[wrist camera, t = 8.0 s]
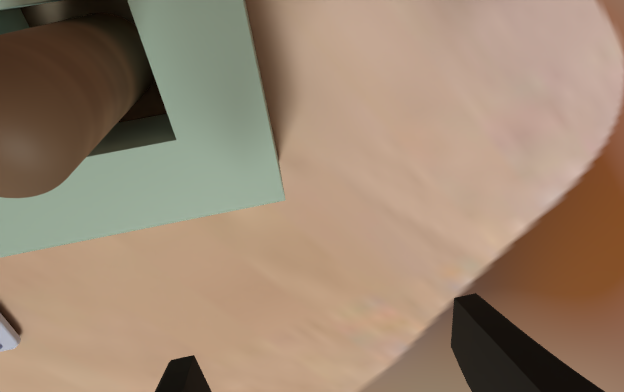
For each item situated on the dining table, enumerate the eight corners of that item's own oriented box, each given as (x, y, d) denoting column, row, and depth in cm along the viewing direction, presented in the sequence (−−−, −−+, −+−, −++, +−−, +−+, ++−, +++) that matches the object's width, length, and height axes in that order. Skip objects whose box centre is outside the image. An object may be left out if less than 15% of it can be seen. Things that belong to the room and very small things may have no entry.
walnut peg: (92, 108, 15) (-33, 213, 8) (48, 24, 14) (-153, 70, 7) (169, 89, 15) (106, 177, 9) (134, 3, 14) (21, 28, 7)
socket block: (40, 209, 17) (-4, 257, 14) (-144, -90, 12) (-282, -114, 9) (278, 162, 18) (285, 200, 15) (214, -145, 12) (203, -185, 9)
